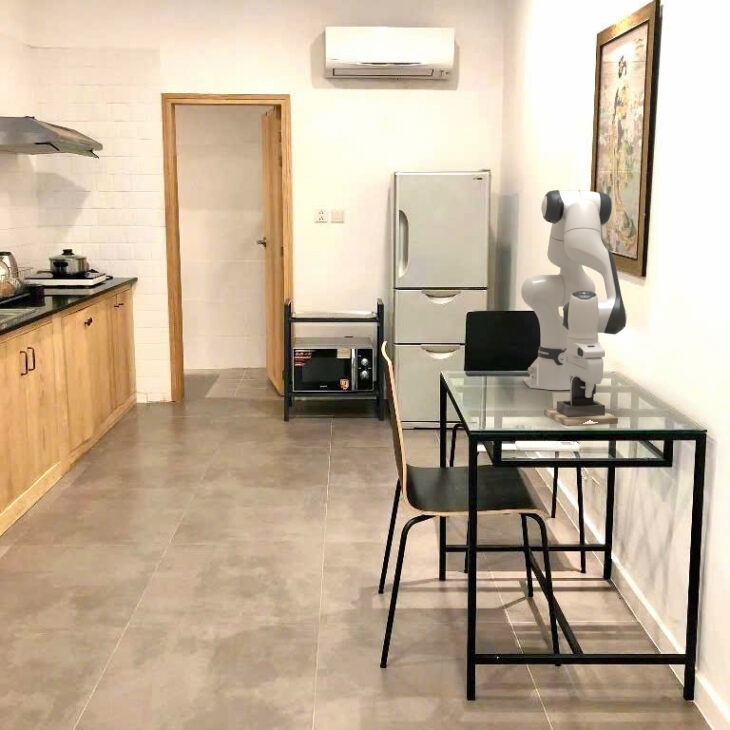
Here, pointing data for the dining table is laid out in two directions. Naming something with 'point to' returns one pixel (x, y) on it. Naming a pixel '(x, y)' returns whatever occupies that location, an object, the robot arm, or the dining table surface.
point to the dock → (580, 413)
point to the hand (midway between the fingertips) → (580, 393)
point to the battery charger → (580, 393)
